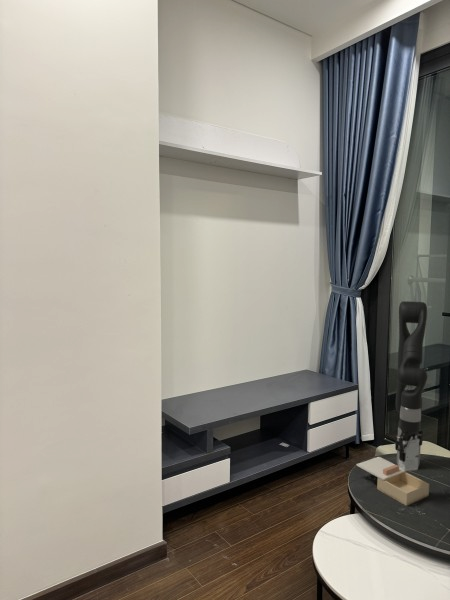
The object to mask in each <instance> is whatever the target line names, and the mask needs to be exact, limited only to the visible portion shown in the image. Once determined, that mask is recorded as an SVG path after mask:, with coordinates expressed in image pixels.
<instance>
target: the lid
mask: <svg viewBox="0 0 450 600" xmlns="http://www.w3.org/2000/svg"><path fill="white" fill-rule="evenodd" d="M356 466H357V467H359V468H360V469H362V470H364V471H366V472H367V473H369V474H371V475H373V476H375V477H377V479H378V478H380V479H382V480H386V479H388V478H391V477H393V476H396V475H399V474H401V473H404V472H406V473H407V471H404V470H403V469H401V468H400V467H399V466H398V464H394V463H393V462H391V461H389V460H387V459H385V458H382V457H381V456H377V457H376V456H375V457H374V458H371V459H368V460H365V461H362V462H360V463H359V462H358V463H356Z"/></svg>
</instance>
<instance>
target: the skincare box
mask: <svg viewBox="0 0 450 600" xmlns="http://www.w3.org/2000/svg"><path fill="white" fill-rule="evenodd" d="M403 444H407V441H403ZM403 449H404V446H403ZM418 455H419V439H412V441H411V442H410V445H409V447H408V448H407V449H406V457H405V461H404V462H403V461H401V460H400V459H399V465H398V464H397V465H398V466H399V467H400V468H401V469H403V470H404V471H406V472H409V471H410V472H411V471H417V470H418V469H419V467H418Z"/></svg>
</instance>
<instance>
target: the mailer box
mask: <svg viewBox="0 0 450 600" xmlns="http://www.w3.org/2000/svg"><path fill="white" fill-rule="evenodd" d="M376 486H377V487H376V490H378V491H379V492H381V493H383V494H384V495H386V496H388V497H390V498H391V499H394V500H395V501H397V502H399V503H400V504H402V505H403V506H405V507H407V506H410V505H412V504H414V503H416V502H419V501H421V500H423V499H425V498H427V497H429V496H430V494H429V492H430V483H428V482H426V481H424V480H423V479H420V478H418V477H417V476H415V475H413V474H410V473H408V472H407V471H406V472H404V473H401V474H399V475H396V476H393V477H391V478H388V479H386V480H382V479H380V478H378V477H377V485H376Z"/></svg>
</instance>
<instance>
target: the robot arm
mask: <svg viewBox="0 0 450 600" xmlns="http://www.w3.org/2000/svg"><path fill="white" fill-rule="evenodd" d="M427 319H428V306H427V303H425V302H423V301H409V300H407V301H406V300H404V301H401V302H400V303H399V306H398V349H397V351H398V352H397V373H396V374H397V375H396V379H397V381H396V391H395V392H396V393H395V410H396V412H398V413H399V420H398V423H397V434H396V435H395V438H394V439H395V440H394V441H395V442H394V443H395V444H394V445H395V446H394V447H395V451H396V465H399V459H400V460H401V461H403V462H404V461H405V457H406V449H407V448H408V447H409V445H410V442H411V441H412V439H419V455H418V468H419V467H420V465H421V463H420V462H421V446H423V438H424V437H423V436H424V430H421V424H422V423H421V422H422V408H423V397H422V395H423V391H424V389H425V386H426V383H427V380H428V373H427V371H426V369H424V368H422V367H421V364H422V363H423V347H424V337H425V334H426V333H425V332H426V327H427ZM407 324H417V326H416V328H415V329H414V330H413V332H412V333H411V332H410V331H409V329H408V325H407ZM407 386H410V387H414V389H406V387H407ZM405 389H406V390H405ZM403 441H407V444H403ZM403 446H404V449H403Z"/></svg>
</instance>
